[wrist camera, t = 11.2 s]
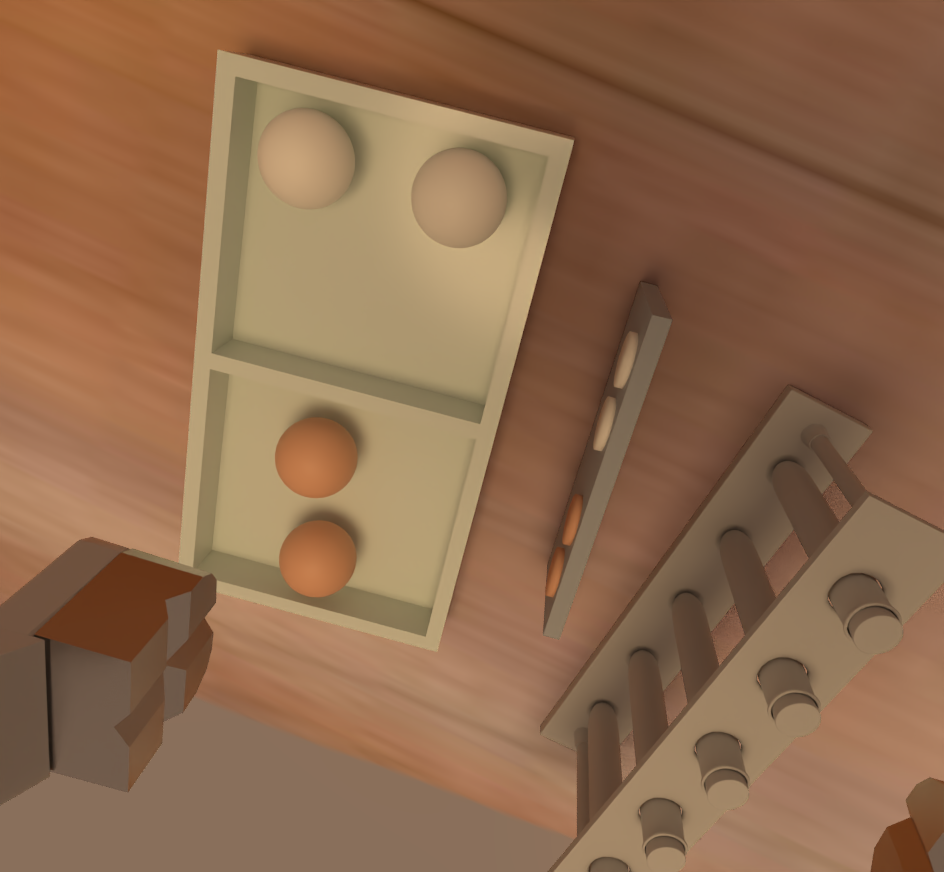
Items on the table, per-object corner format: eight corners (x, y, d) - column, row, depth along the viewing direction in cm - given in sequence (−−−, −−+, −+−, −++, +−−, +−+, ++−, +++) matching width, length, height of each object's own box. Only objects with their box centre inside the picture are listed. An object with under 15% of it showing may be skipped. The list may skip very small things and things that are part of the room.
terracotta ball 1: (380, 429, 37) (322, 448, 34) (366, 498, 39) (309, 522, 36) (323, 397, 39) (262, 413, 36) (312, 465, 41) (253, 485, 38)
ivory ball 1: (372, 120, 33) (347, 122, 29) (357, 213, 34) (331, 226, 31) (283, 97, 33) (246, 96, 29) (272, 191, 34) (237, 201, 31)
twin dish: (574, 137, 33) (574, 140, 30) (445, 617, 44) (437, 652, 41) (247, 54, 33) (217, 49, 30) (201, 551, 44) (177, 581, 41)
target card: (657, 285, 35) (672, 319, 29) (561, 568, 41) (559, 639, 36) (633, 279, 35) (644, 312, 29) (541, 563, 41) (536, 633, 36)
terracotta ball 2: (370, 517, 41) (350, 558, 37) (358, 577, 42) (338, 621, 39) (299, 498, 41) (272, 537, 37) (290, 558, 43) (263, 601, 39)
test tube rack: (603, 755, 46) (613, 982, 34) (539, 725, 46) (526, 944, 34) (867, 424, 36) (1013, 585, 24) (787, 383, 36) (894, 524, 24)
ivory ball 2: (520, 157, 33) (513, 164, 29) (498, 249, 34) (489, 266, 31) (430, 134, 33) (412, 139, 29) (413, 227, 34) (393, 242, 31)
